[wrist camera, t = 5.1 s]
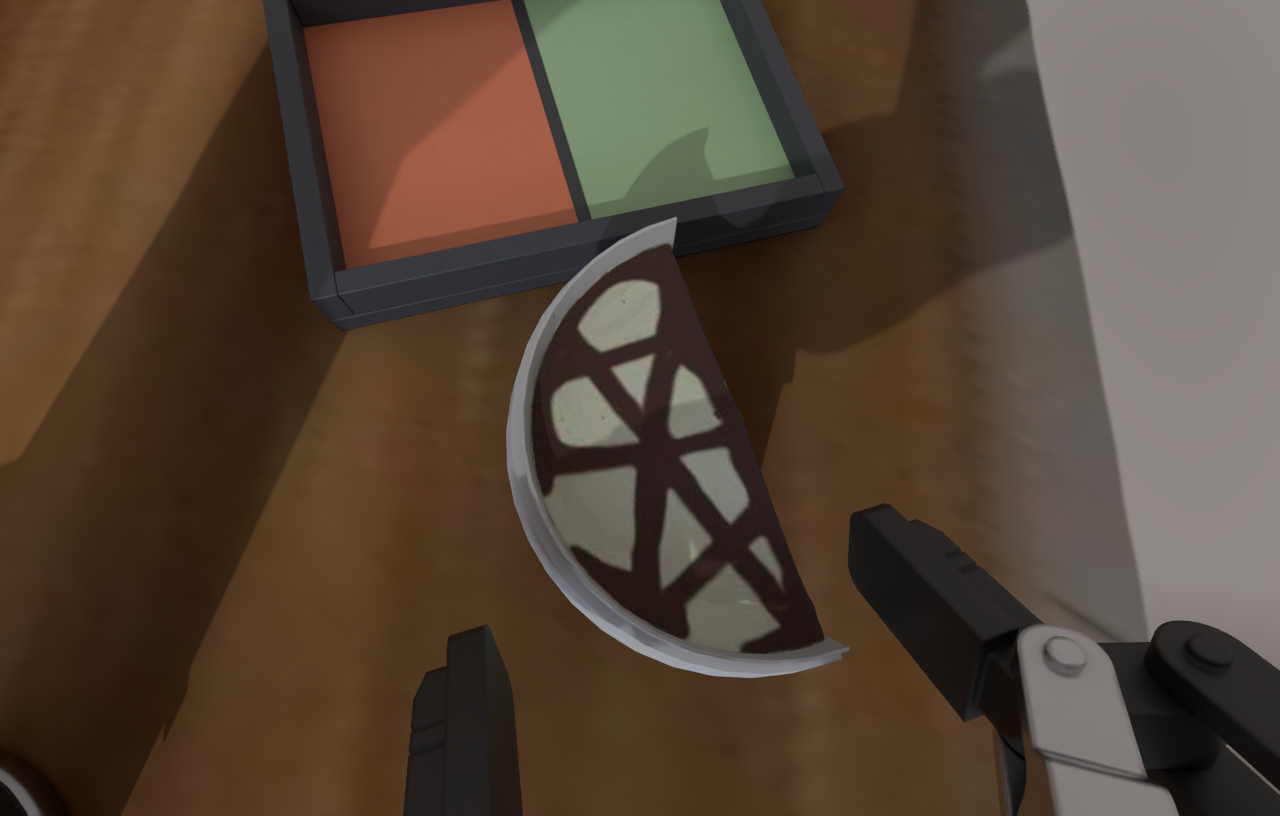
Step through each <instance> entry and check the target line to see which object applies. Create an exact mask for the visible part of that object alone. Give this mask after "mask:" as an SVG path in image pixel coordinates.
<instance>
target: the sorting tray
mask: <svg viewBox="0 0 1280 816" xmlns="http://www.w3.org/2000/svg"><path fill="white" fill-rule="evenodd" d="M263 5H264V11H265V17H266V24H267V30H268V36H269V43H270V49H271V55H272V61H273V68H274V74H275V80H276V87H277V93H278V99H279V105H280V112H281V118H282V124H283V131H284V137H285V143H286V149H287V156H288V162H289V168H290V174H291V181H292V187H293V193H294V200H295V206H296V212H297V218H298V225H299V231H300V237H301V244H302V250H303V256H304V262H305V269H306V275H307V281H308V288H309V294H310V300H311V301H312V302H313V303H314V304H315V305H316V306H317V307H318V308H319V309H320V310H321V311H322V312H323V313H324V314H325V315H326V316H327V317H328V318H329V319H330V320H331V321H332V322H333V323H334V324H335V325H336V326H337V327H338V328H339V329H340V330H341V331H343V330H348V329H352V328H357V327H361V326H366V325H370V324H375V323H380V322H384V321H389V320H393V319H398V318H402V317H407V316H411V315H416V314H420V313H425V312H429V311H434V310H439V309H443V308H448V307H452V306H457V305H461V304H466V303H470V302H475V301H479V300H484V299H489V298H493V297H498V296H502V295H507V294H511V293H516V292H520V291H525V290H529V289H534V288H538V287H543V286H548V285H552V284H557V283H561V282H566V281H570V280H571V279H572V278H574V277H575V276H576V275H577V274H578V273H579V272H580V271H581V270H582V269H583V268H584V267H585V266H586V265H587V264H589V263H590V262H591V261H592V260H593V259H594V258H595V257H597V256H598V255H600V254H601V253H603V252H604V251H605V250H607V249H608V248H610V247H611V246H612V245H614V244H615V243H617V242H618V241H619V240H621V239H623V238H625V237H627V236H629V235H631V234H633V233H635V232H637V231H639V230H641V229H643V228H645V227H647V226H650V225H653V224H656V223H659V222H662V221H665V220H668V219H671V218H674V217H676V218H677V223H676V230H675V236H674V243H673V249H672V251H673V254H674V256H675V257H679V256H684V255H688V254H693V253H697V252H702V251H707V250H711V249H716V248H720V247H725V246H729V245H734V244H738V243H743V242H747V241H752V240H757V239H761V238H766V237H770V236H775V235H779V234H784V233H788V232H793V231H797V230H802V229H806V228H811V227H816V226H820V225H821V224H822V223H823V221H824V219H825V218H826V216H827V215H828V213H829V212H830V211H831V209H832V207H833V206H834V204H835V203H836V201H837V200H838V198H839V197H840V195H841V194H842V192H843V190H844V189H845V186H844V184H843V182H842V179H841V177H840V175H839V173H838V171H837V168H836V166H835V164H834V162H833V160H832V157H831V155H830V153H829V151H828V148H827V146H826V144H825V142H824V140H823V137H822V135H821V133H820V131H819V129H818V126H817V124H816V122H815V120H814V117H813V115H812V113H811V111H810V109H809V106H808V104H807V102H806V100H805V97H804V95H803V93H802V91H801V89H800V86H799V84H798V82H797V80H796V78H795V75H794V73H793V71H792V69H791V66H790V64H789V62H788V60H787V58H786V55H785V53H784V51H783V49H782V46H781V44H780V42H779V40H778V38H777V35H776V33H775V31H774V29H773V27H772V24H771V22H770V20H769V18H768V15H767V13H766V11H765V9H764V7H763V4H762V2H761V0H263Z"/></svg>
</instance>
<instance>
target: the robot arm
mask: <svg viewBox="0 0 1280 816" xmlns="http://www.w3.org/2000/svg"><path fill="white" fill-rule="evenodd" d="M848 566H849V571H850V575H851V577H852V580H853V582H854V584H855V586H856V587H857V589H858V590H859V592H860V593H861V594H862V595H863V597H864V598H865V599H866V600H867V602H868V603H869V604H870V605H871V607H872V608H873V609H874V610H875V612H876V613H877V614H878V615H879V617H880V618H881V619H882V620H883V622H884V623H885V624H886V625H887V627H888V628H889V629H890V630H891V632H892V633H893V634H894V635H895V637H896V638H897V639H898V640H899V641H900V643H901V644H902V645H903V646H904V648H905V649H906V650H907V651H908V653H909V654H910V655H911V656H912V658H913V659H914V660H915V661H916V663H917V664H918V665H919V666H920V668H921V669H922V670H923V671H924V673H925V674H926V675H927V676H928V678H929V679H930V680H931V681H932V683H933V684H934V685H935V686H936V687H937V689H938V690H939V691H940V692H941V694H942V695H943V696H944V697H945V699H946V700H947V701H948V702H949V704H950V705H951V706H952V707H953V709H954V710H955V711H956V712H957V714H958V715H959V716H960V717H961V719H962V720H963V721H964V722H966V721H969V720H971V719H974V718H976V717H979V716H982V715H985V716H986V717H987V718H988V720H989V721H990V722H991V723H992V724H993V725H994V729H993V744H994V754H995V764H996V773H997V783H998V793H999V803H1000V813H1001V816H1280V795H1279V794H1277V793H1276V792H1275V791H1274V790H1273V789H1272V788H1271V787H1270V786H1269V785H1268V784H1266V783H1265V782H1264V781H1263V780H1262V779H1261V778H1260V777H1259V776H1258V775H1256V774H1255V773H1254V772H1253V771H1252V770H1251V769H1250V768H1249V767H1248V766H1247V765H1245V764H1244V763H1243V762H1242V761H1241V760H1240V759H1239V758H1238V757H1237V756H1236V755H1235V754H1233V753H1232V752H1231V751H1230V750H1229V749H1228V748H1227V747H1226V744H1228V745H1229V746H1231V747H1232V748H1233V749H1234V750H1235V751H1236V752H1237V753H1238V754H1240V755H1241V756H1242V757H1243V758H1244V759H1245V760H1246V761H1247V762H1248V763H1249V764H1251V765H1252V766H1253V767H1254V768H1255V769H1256V770H1257V771H1258V772H1259V773H1261V774H1262V775H1263V776H1264V777H1265V778H1266V779H1267V780H1268V781H1269V782H1271V783H1272V784H1273V785H1274V786H1275V787H1277V789H1278V790H1279V791H1280V670H1278V669H1277V668H1276V667H1274V666H1273V665H1271V664H1270V663H1269V662H1267V661H1266V660H1265V659H1263V658H1262V657H1261V656H1259V655H1258V654H1257V653H1255V652H1254V651H1253V650H1251V649H1250V648H1249V647H1247V646H1246V645H1244V644H1243V643H1242V642H1240V641H1239V640H1237V639H1236V638H1234V637H1232V636H1231V635H1229V634H1227V633H1225V632H1223V631H1221V630H1219V629H1216V628H1214V627H1211V626H1208V625H1204V624H1201V623H1197V622H1191V621H1171V622H1166V623H1164V624H1162V625H1160V626H1159V627H1158V628H1157V629H1156V631H1155V633H1154V635H1153V637H1152V639H1151V642H1136V643H1096V642H1094V641H1093V640H1091V639H1090V638H1089V637H1087V636H1085V635H1083V634H1082V633H1080V632H1077V631H1075V630H1073V629H1070V628H1067V627H1064V626H1060V625H1055V624H1044V623H1043V622H1042V621H1040V620H1039V619H1038V618H1037V617H1036V616H1035V615H1033V614H1032V613H1031V612H1030V611H1029V610H1028V609H1027V608H1026V607H1025V606H1023V605H1022V604H1021V603H1020V602H1019V601H1018V600H1017V599H1016V598H1015V597H1013V596H1012V595H1011V594H1010V593H1009V592H1008V591H1007V590H1006V589H1005V588H1004V587H1002V586H1001V585H1000V584H999V583H998V582H997V581H996V580H995V579H994V578H992V577H991V576H990V575H989V574H988V573H987V572H986V571H985V570H984V569H982V568H981V567H980V566H979V567H978V566H977V565H976V562H975V561H974V560H972V559H971V558H970V557H969V556H968V555H967V554H966V553H965V552H961V550H960V548H959V547H958V546H957V545H956V544H955V543H954V542H953V541H951V540H950V539H949V538H948V537H947V536H946V535H945V534H944V533H943V532H941V531H939V530H937V529H935V528H933V527H931V526H929V525H927V524H925V523H923V522H921V521H919V520H917V519H916V520H912V521H909V522H908V521H907V520H906V519H905V518H904V517H903V516H902V515H901V514H899V513H898V512H897V511H896V510H895V509H894V508H893V507H892V506H890V505H889V504H885V503H884V504H880V505H877V506H874V507H871V508H867V509H864V510H861V511H858V512H854V513H853V514H852V515H851V518H850V532H849V553H848ZM411 729H412V733H410V745H409V752H410V756H408V767H407V779H406V790H405V802H404V813H403V816H523V813H522V800H521V788H520V775H519V763H518V750H517V738H516V725H515V713H514V701H513V694H512V689H511V684H510V680H509V676H508V673H507V670H506V668H505V665H504V663H503V660H502V658H501V655H500V653H499V650H498V648H497V645H496V643H495V641H494V638H493V636H492V633H491V631H490V628H489V627H488V625H487V624H486V625H483V626H479V627H476V628H473V629H470V630H466V631H463V632H460V633H457V634H453V635H450V636H449V638H448V644H447V666H445V667H442V668H438V669H435V670H432V671H429V672H426V674H425V677H424V679H423V681H422V683H421V685H420V687H419V689H418V691H417V693H416V695H415V697H414V699H413V710H412V722H411ZM0 816H65V814H64V811H63V809H62V807H61V805H60V802H59V800H58V799H57V797H56V795H55V794H54V792H53V790H52V789H51V788H50V786H49V785H48V784H47V783H46V781H45V780H44V779H43V778H42V777H41V776H40V775H39V774H38V773H37V772H36V771H35V770H34V769H33V768H31V767H30V766H29V765H27V764H26V763H24V762H23V761H22V760H20V759H18V758H16V757H14V756H13V755H11V754H8V753H6V752H3V751H1V750H0Z"/></svg>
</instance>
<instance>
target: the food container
mask: <svg viewBox="0 0 1280 816" xmlns="http://www.w3.org/2000/svg"><path fill="white" fill-rule="evenodd" d="M676 223H677V218H676V217H674V218H671V219H668V220H665V221H662V222H659V223H656V224H653V225H650V226H647V227H645V228H643V229H641V230H639V231H637V232H635V233H633V234H631V235H629V236H627V237H625V238H623V239H621V240H619V241H618V242H617V243H615V244H614V245H612V246H611V247H610V248H608V249H607V250H605V251H604V252H603V253H601V254H600V255H598V256H597V257H595V258H594V259H593V260H592V261H591V262H590V263H589V264H587V265H586V266H585V267H584V268H583V269H582V270H581V271H580V272H579V273H578V274H577V275H576V276H575V277H574V278H572V279H571V280H570V281H569V282H568V283H567V284H566V285H565V286H564V287H563V288H562V289H561V291H560V292H559V293H558V295H557V296H556V298H555V299H554V300H553V302H552V303H551V304H550V306H549V307H548V308H547V310H546V311H545V312H544V314H543V315H542V317H541V319H540V321H539V323H538V325H537V327H536V329H535V331H534V332H533V334H532V336H531V338H530V340H529V342H528V344H527V346H526V349H525V353H524V356H523V359H522V362H521V365H520V368H519V371H518V375H517V378H516V381H515V384H514V388H513V392H512V395H511V401H510V408H509V415H508V422H507V429H506V440H507V469H508V474H509V479H510V484H511V489H512V494H513V499H514V504H515V507H516V509H517V512H518V515H519V517H520V520H521V523H522V525H523V528H524V531H525V534H526V536H527V539H528V541H529V542H530V544H531V546H532V548H533V549H534V551H535V553H536V555H537V556H538V558H539V560H540V562H541V563H542V565H543V567H544V569H545V570H546V572H547V574H548V575H549V576H550V577H551V578H552V580H553V581H554V582H555V583H556V585H557V586H558V587H559V588H560V589H561V591H562V592H563V593H564V594H565V596H566V597H567V598H568V599H569V601H570V602H571V603H572V604H573V605H574V606H575V607H576V608H578V609H579V610H580V611H581V612H582V613H583V614H584V615H586V616H587V617H588V618H589V619H590V620H591V621H592V622H593V623H595V624H596V625H597V626H598V627H599V628H600V629H601V630H603V631H604V632H606V633H608V634H609V635H611V636H612V637H614V638H616V639H617V640H619V641H620V642H622V643H623V644H625V645H627V646H628V647H630V648H631V649H633V650H635V651H636V652H639V653H641V654H644V655H646V656H648V657H651V658H653V659H656V660H658V661H660V662H663V663H665V664H668V665H670V666H672V667H676V668H681V669H685V670H689V671H694V672H698V673H702V674H707V675H711V676H725V677H743V678H756V677H764V676H773V675H781V674H789V673H794V672H799V671H803V670H807V669H810V668H814V667H817V666H821V665H824V664H827V663H831V662H834V661H838V660H841V659H843V658H842V656H841V654H840V653H843V652H846V651H850V649H849V647H848V646H846V645H844V644H842V643H840V642H837V641H835V640H833V639H831V638H829V637H827V636H824V635H823V631H822V628H821V626H820V624H819V621H818V618H817V615H816V611H815V607H814V605H813V603H812V601H811V599H810V598H809V596H808V594H807V592H806V590H805V588H804V585H803V583H802V581H801V578H800V576H799V574H798V571H797V569H796V566H795V563H794V561H793V558H792V555H791V553H790V550H789V548H788V545H787V542H786V540H785V537H784V534H783V532H782V529H781V526H780V524H779V521H778V518H777V515H776V513H775V510H774V507H773V504H772V502H771V499H770V496H769V493H768V491H767V488H766V485H765V482H764V479H763V476H762V473H761V470H760V467H759V464H758V461H757V458H756V455H755V452H754V450H753V447H752V444H751V441H750V438H749V435H748V432H747V429H746V427H745V424H744V421H743V418H742V416H741V414H740V411H739V409H738V407H737V405H736V403H735V400H734V398H733V396H732V394H731V391H730V389H729V387H728V385H727V383H726V381H725V378H724V376H723V374H722V372H721V369H720V367H719V365H718V363H717V360H716V358H715V356H714V353H713V351H712V349H711V346H710V344H709V342H708V339H707V337H706V335H705V332H704V330H703V327H702V325H701V322H700V319H699V317H698V314H697V312H696V309H695V307H694V304H693V302H692V299H691V297H690V294H689V292H688V289H687V287H686V284H685V281H684V279H683V276H682V274H681V271H680V269H679V266H678V264H677V261H676V259H675V256H674V254H673V251H672V249H673V243H674V236H675V230H676Z"/></svg>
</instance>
